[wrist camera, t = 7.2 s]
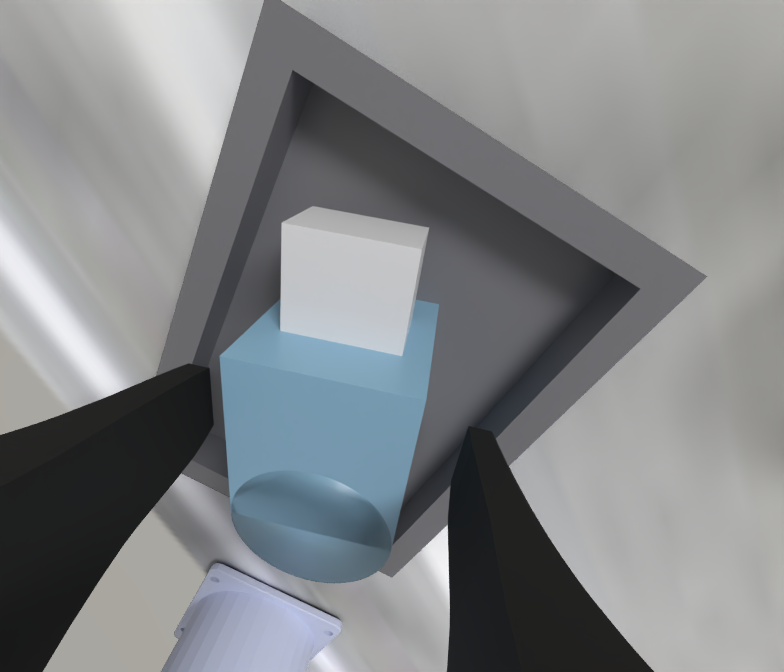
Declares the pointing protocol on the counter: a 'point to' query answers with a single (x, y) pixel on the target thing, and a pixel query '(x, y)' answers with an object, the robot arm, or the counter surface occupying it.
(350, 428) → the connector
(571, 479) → the counter surface
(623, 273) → the tray
